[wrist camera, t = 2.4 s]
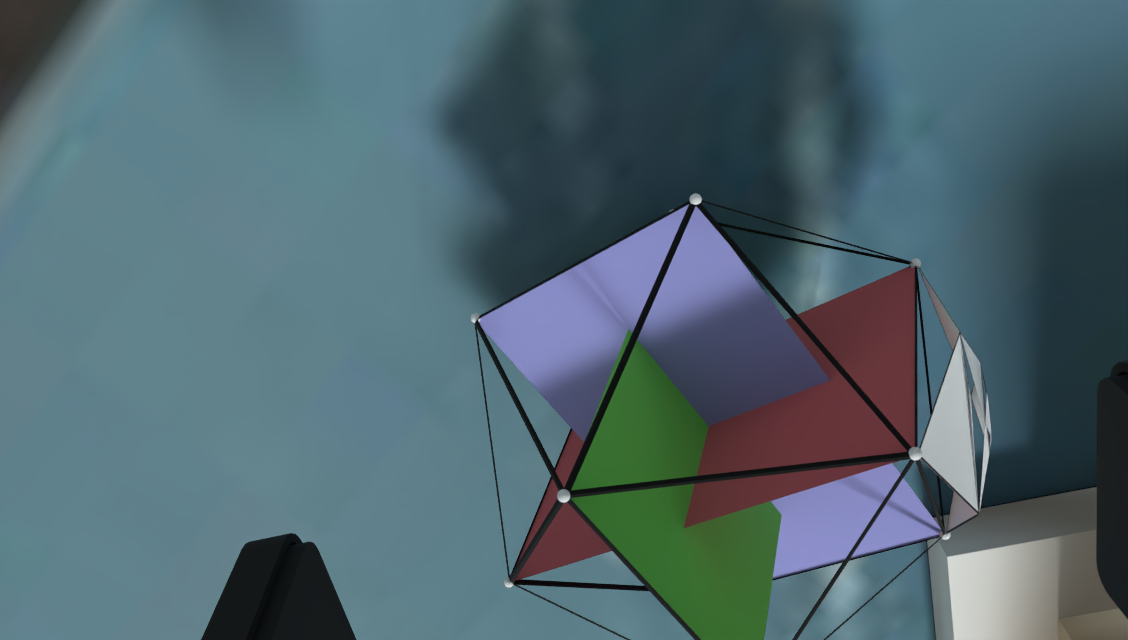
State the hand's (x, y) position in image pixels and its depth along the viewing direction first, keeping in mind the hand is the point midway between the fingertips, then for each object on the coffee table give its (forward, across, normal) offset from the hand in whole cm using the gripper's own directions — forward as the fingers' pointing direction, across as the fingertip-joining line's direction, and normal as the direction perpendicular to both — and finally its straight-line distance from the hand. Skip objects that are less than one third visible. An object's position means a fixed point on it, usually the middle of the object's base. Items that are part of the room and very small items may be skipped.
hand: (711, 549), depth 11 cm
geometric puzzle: (+7, 0, 0) cm, 7 cm away
